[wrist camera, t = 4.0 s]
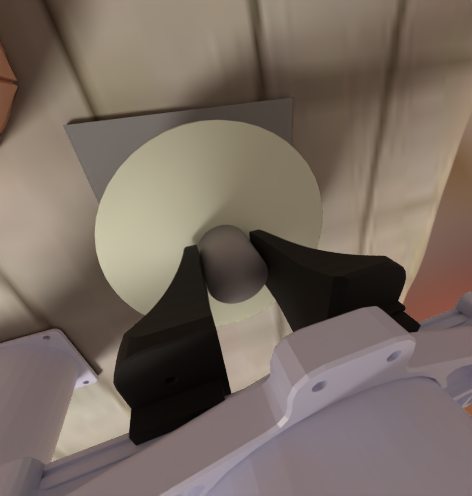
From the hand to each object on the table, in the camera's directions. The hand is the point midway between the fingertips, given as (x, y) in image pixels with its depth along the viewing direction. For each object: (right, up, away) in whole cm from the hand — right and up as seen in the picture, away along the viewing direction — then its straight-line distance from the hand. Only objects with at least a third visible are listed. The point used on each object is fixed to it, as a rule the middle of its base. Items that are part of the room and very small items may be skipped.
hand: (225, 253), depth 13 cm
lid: (0, +1, +1) cm, 2 cm away
